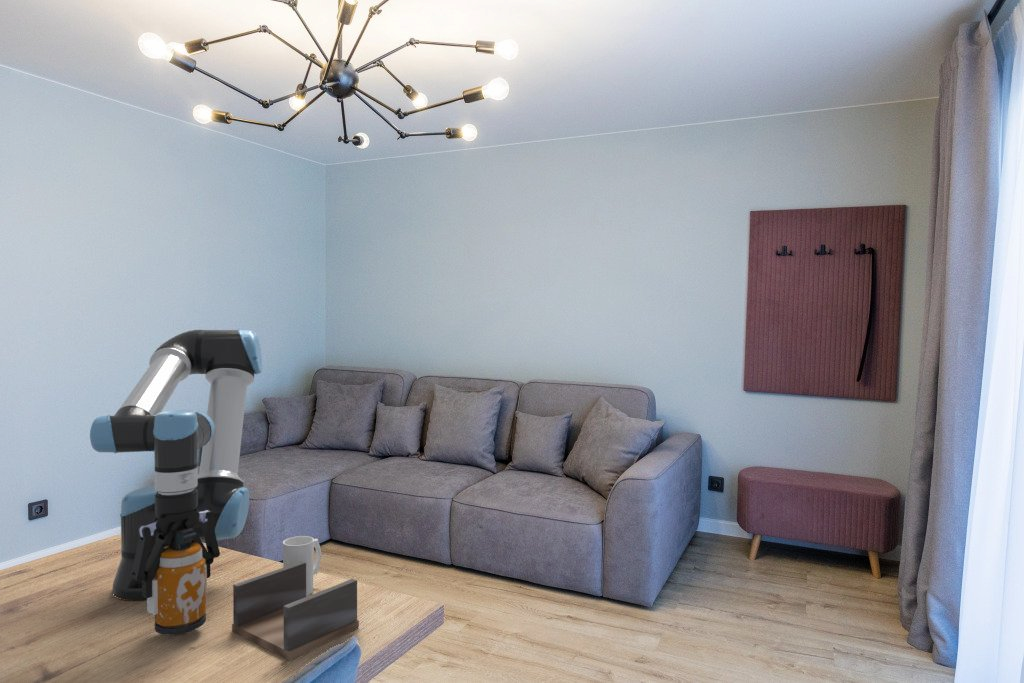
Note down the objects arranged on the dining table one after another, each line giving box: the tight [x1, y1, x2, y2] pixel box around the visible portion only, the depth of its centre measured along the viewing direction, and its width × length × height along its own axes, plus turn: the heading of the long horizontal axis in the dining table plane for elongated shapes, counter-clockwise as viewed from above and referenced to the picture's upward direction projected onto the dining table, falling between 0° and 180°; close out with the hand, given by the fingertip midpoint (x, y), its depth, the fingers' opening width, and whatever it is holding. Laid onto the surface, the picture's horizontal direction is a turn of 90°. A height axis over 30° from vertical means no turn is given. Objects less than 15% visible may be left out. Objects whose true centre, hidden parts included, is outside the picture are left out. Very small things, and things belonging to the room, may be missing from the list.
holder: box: [231, 561, 360, 661], centre depth 130 cm, size 19×16×10 cm
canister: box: [154, 528, 207, 636], centre depth 127 cm, size 9×11×20 cm
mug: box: [282, 535, 322, 597], centre depth 149 cm, size 10×7×12 cm, turn 150°
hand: (177, 603), depth 128 cm, fingers closed on canister, 9 cm apart
